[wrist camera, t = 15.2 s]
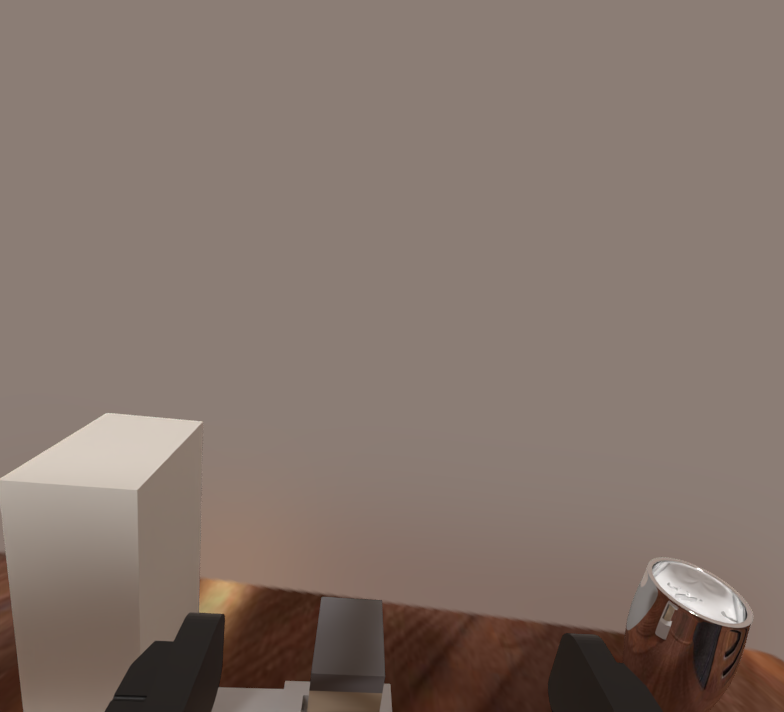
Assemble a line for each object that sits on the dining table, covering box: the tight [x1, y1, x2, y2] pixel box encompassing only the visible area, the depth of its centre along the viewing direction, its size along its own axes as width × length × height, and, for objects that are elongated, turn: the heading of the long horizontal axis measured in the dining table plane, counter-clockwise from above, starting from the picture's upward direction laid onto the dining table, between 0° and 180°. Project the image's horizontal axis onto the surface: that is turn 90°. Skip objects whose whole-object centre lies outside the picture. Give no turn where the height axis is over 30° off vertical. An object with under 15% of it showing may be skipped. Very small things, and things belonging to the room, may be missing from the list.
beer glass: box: [623, 557, 753, 712], centre depth 32 cm, size 7×7×15 cm
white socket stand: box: [0, 413, 392, 712], centre depth 25 cm, size 21×10×24 cm, turn 94°
